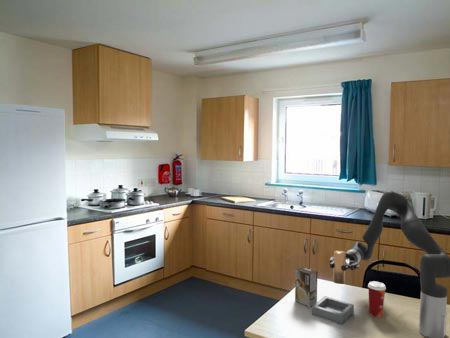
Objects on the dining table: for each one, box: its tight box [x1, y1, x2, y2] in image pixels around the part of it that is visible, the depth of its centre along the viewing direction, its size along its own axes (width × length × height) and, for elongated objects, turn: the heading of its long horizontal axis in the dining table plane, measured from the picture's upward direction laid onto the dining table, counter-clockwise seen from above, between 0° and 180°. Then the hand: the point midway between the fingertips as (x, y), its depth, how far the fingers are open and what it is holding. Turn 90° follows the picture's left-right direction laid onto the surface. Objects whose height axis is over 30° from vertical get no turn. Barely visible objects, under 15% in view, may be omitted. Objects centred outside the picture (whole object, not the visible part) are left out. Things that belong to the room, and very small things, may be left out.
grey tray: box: [311, 295, 355, 325], centre depth 163 cm, size 14×14×4 cm
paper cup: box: [367, 280, 387, 317], centre depth 163 cm, size 8×8×14 cm
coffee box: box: [294, 266, 318, 308], centre depth 174 cm, size 9×6×16 cm
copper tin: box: [332, 250, 346, 285], centre depth 166 cm, size 5×5×14 cm
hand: (337, 267), depth 164 cm, fingers closed on copper tin, 5 cm apart
